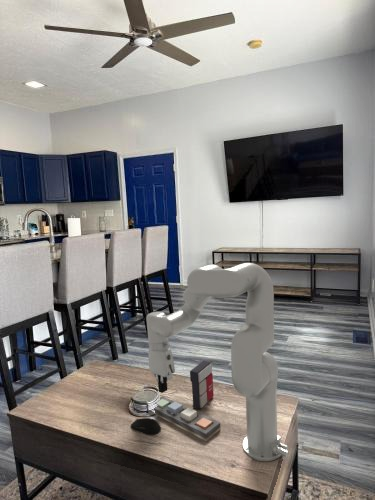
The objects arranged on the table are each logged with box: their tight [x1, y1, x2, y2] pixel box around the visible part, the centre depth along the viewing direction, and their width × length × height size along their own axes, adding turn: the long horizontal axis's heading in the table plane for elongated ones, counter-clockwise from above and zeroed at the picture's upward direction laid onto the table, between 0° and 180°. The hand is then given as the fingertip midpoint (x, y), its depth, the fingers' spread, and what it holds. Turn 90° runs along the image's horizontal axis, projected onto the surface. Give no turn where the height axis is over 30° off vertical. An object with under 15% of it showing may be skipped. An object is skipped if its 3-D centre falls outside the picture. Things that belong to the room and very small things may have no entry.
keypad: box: [154, 396, 222, 442], centre depth 131 cm, size 29×8×3 cm, turn 48°
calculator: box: [189, 360, 214, 410], centre depth 142 cm, size 11×4×15 cm, turn 147°
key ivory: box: [181, 407, 198, 422], centre depth 128 cm, size 4×4×2 cm
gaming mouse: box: [130, 417, 162, 436], centre depth 127 cm, size 6×15×4 cm, turn 63°
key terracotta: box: [196, 418, 212, 430], centre depth 124 cm, size 4×4×2 cm
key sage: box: [157, 399, 170, 409], centre depth 138 cm, size 4×4×2 cm
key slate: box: [167, 401, 184, 415], centre depth 133 cm, size 4×4×2 cm
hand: (163, 391), depth 137 cm, fingers closed
